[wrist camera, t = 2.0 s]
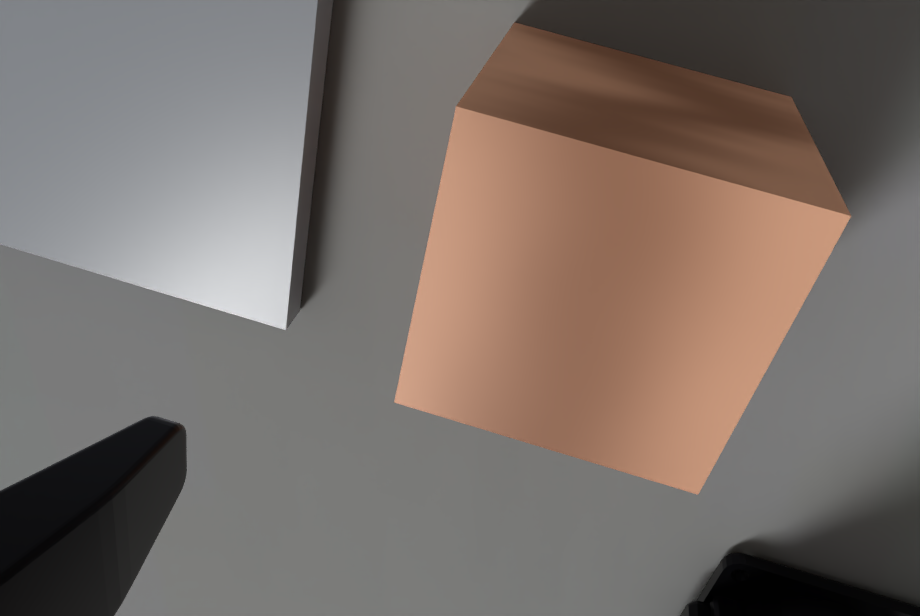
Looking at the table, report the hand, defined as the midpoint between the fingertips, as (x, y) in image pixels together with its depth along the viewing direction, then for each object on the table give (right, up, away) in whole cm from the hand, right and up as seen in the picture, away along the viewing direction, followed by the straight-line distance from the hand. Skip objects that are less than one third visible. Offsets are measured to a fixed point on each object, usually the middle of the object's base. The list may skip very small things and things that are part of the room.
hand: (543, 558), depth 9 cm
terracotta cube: (+2, +6, +9) cm, 11 cm away
